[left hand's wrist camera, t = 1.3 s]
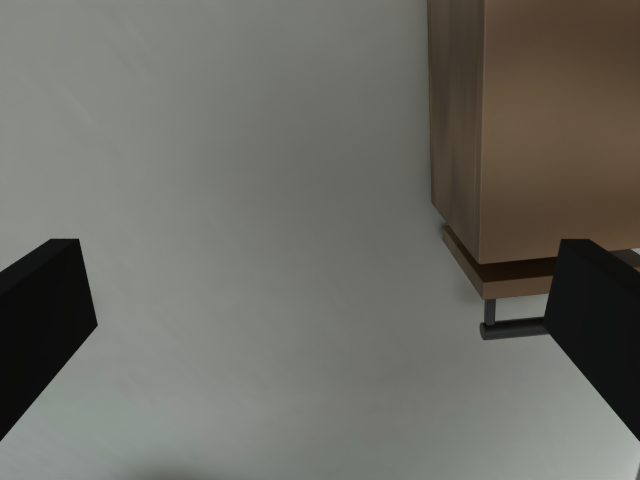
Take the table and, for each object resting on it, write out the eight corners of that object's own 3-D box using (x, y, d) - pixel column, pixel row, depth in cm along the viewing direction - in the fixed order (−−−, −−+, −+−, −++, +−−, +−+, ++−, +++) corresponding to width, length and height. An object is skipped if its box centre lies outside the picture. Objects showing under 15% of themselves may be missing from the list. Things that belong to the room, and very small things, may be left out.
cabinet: (575, 187, 35) (686, 243, 24) (431, 203, 35) (478, 265, 25) (611, -154, 27) (800, -291, 16) (424, -127, 27) (489, -244, 17)
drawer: (563, 292, 37) (638, 365, 29) (443, 304, 38) (480, 379, 29) (601, -76, 28) (734, -138, 19) (438, -54, 28) (493, -105, 19)
